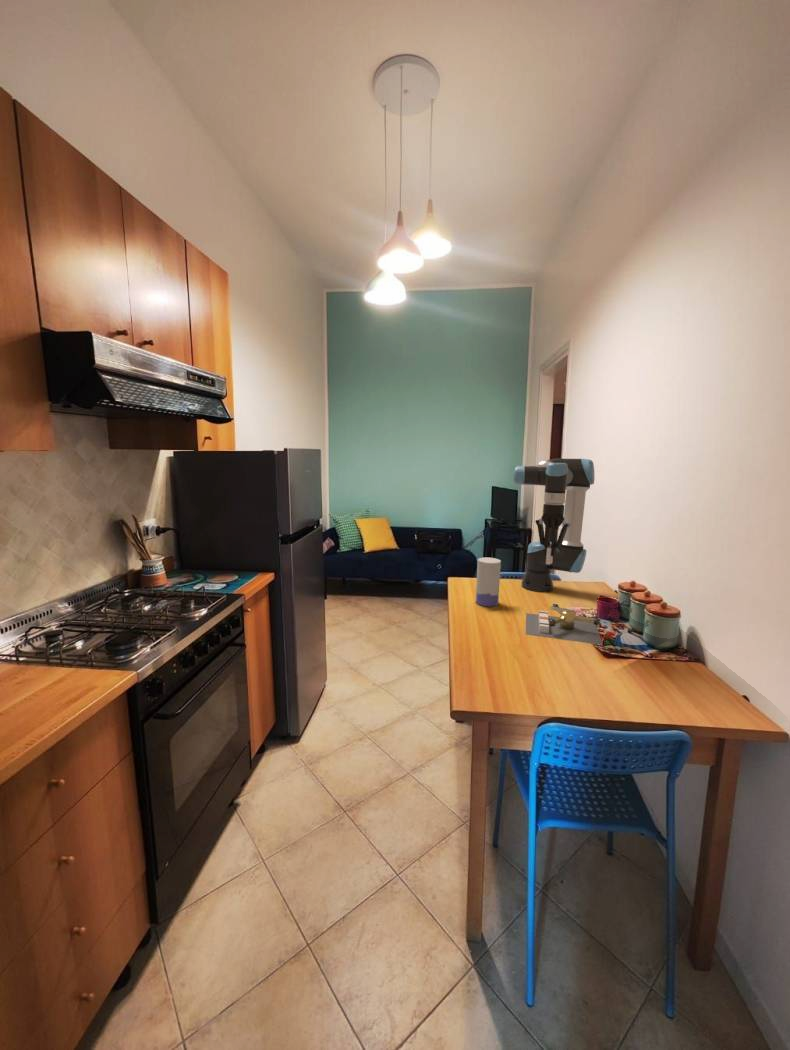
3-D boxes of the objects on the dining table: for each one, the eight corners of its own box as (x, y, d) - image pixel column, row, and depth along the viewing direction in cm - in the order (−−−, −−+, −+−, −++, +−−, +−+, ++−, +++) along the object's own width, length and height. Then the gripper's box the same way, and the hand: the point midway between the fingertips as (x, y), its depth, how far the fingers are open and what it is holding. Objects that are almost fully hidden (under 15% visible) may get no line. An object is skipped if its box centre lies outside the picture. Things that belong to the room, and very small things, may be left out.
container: (496, 599, 196) (499, 557, 193) (499, 607, 186) (502, 563, 183) (474, 598, 197) (476, 556, 194) (476, 606, 187) (478, 562, 184)
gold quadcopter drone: (550, 615, 175) (551, 598, 174) (598, 622, 168) (599, 606, 167) (546, 633, 157) (547, 615, 156) (599, 642, 150) (601, 624, 149)
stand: (525, 615, 177) (526, 606, 177) (593, 624, 170) (594, 614, 169) (525, 637, 157) (526, 627, 156) (602, 648, 149) (604, 637, 148)
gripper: (533, 502, 164) (529, 562, 168) (567, 506, 155) (561, 568, 159) (541, 501, 169) (537, 558, 173) (575, 504, 161) (569, 565, 165)
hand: (549, 563), depth 166 cm, fingers closed
